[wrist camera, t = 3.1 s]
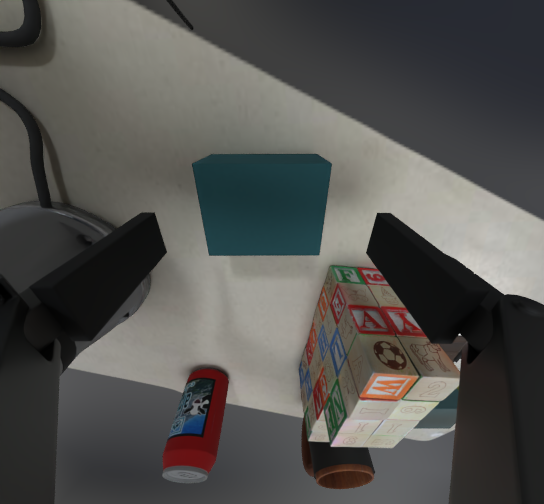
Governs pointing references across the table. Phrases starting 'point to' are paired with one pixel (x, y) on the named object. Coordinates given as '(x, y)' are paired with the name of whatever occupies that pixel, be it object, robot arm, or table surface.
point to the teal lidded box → (446, 408)
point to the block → (262, 203)
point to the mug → (336, 463)
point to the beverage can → (196, 428)
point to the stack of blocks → (368, 364)
